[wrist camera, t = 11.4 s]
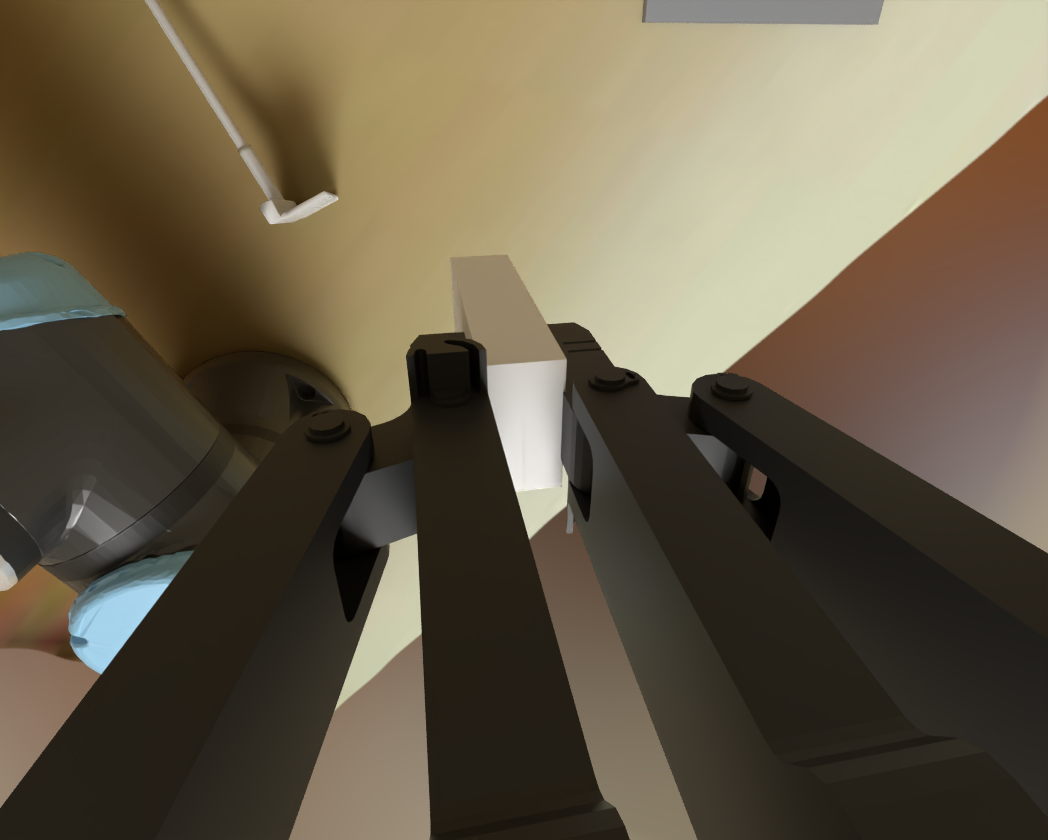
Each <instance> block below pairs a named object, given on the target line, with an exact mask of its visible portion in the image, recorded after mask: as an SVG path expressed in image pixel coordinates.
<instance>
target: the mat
mask: <svg viewBox="0 0 1048 840" xmlns="http://www.w3.org/2000/svg"><path fill="white" fill-rule="evenodd" d="M883 2H884V0H644V8H643V20H642V23H749V24H857V25H874V24H878V22H879V18H880V14H881V10H882V6H883Z"/></svg>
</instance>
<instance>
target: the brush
mask: <svg viewBox="0 0 1048 840" xmlns="http://www.w3.org/2000/svg"><path fill="white" fill-rule="evenodd" d="M145 2H146V4H147V5H148V7H149V8H150V10H151V11H152V13H153V15H154V16H155V18H156V19H157V21H158V23H159V24H160V26H161V27H162V29H163V30H164V32H165V34H166V35H167V37H168V38H169V40H170V42H171V43H172V45H173V46H174V48H175V49H176V51H177V53H178V54H179V56H180V57H181V59H182V61H183V62H184V64H185V65H186V67H187V68H188V70H189V72H190V73H191V75H192V76H193V78H194V80H195V81H196V83H197V84H198V86H199V87H200V89H201V91H202V92H203V94H204V95H205V97H206V99H207V100H208V102H209V103H210V105H211V107H212V108H213V110H214V111H215V113H216V114H217V116H218V118H219V119H220V121H221V122H222V124H223V126H224V127H225V129H226V130H227V132H228V133H229V135H230V137H231V138H232V140H233V141H234V143H235V145H236V146H237V148H238V149H239V150H238V152H239V153H240V155H241V157H242V158H243V160H244V161H245V163H246V164H247V166H248V168H249V169H250V171H251V172H252V174H253V176H254V177H255V179H256V180H257V182H258V183H259V185H260V187H261V188H262V190H263V191H264V193H265V195H266V196H267V198H268V199H269V200H268V201H266V202H264V203H262V204H261V205H260V206H261V207H260V210H261V211H262V213H263V214H264V216H265V217H266V219H267V220H268V222H269V224H277V223H289V222H295V221H297V220H299V219H301V218H305V217H307V216H309V215H311V214H313V213H315V212H316V211H318V210H320V209H322V208H324V207H326V206H327V205H329V204H331V203H333V202H335V201H336V200H338V197H337V195H334V194H332V193H329V192H326V191H323V192H321V193H320V194H318V195H316V196H314V197H312V198H310V199H308V200H307V201H305V202H303V203H301V204H299V205H296V203H295V201H288V200H284V198H283V197H282V195H281V194H280V192H279V190H278V189H277V187H276V186H275V184H274V182H273V181H272V179H271V178H270V176H269V174H268V173H267V171H266V169H265V168H264V166H263V165H262V163H261V161H260V160H259V158H258V157H257V155H256V153H255V152H254V150H253V149H252V147H251V145H247V144H246V142H245V140H244V139H243V137H242V136H241V134H240V132H239V131H238V129H237V128H236V126H235V124H234V123H233V121H232V120H231V118H230V116H229V115H228V113H227V112H226V110H225V108H224V107H223V105H222V104H221V102H220V100H219V99H218V97H217V95H216V94H215V92H214V91H213V89H212V87H211V86H210V84H209V83H208V81H207V79H206V78H205V76H204V75H203V73H202V71H201V70H200V68H199V67H198V65H197V63H196V62H195V60H194V59H193V57H192V55H191V54H190V52H189V51H188V49H187V47H186V46H185V44H184V43H183V41H182V39H181V38H180V36H179V35H178V33H177V31H176V30H175V28H174V27H173V25H172V23H171V22H170V20H169V19H168V17H167V15H166V14H165V12H164V10H163V9H162V7H161V6H160V4H159V2H158V1H157V0H145Z"/></svg>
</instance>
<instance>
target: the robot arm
mask: <svg viewBox="0 0 1048 840" xmlns="http://www.w3.org/2000/svg"><path fill="white" fill-rule="evenodd" d="M450 259H451V274H452V290H453V305H454V321H455V333H442V334H428V335H419V336H418V337H417V338H416V339H415V341H414V342H413V343H412V344H411V345H410V349H409V350H408V352H407V355H406V360H407V369H408V378H409V387H410V396H411V406H410V408H409V409H408V410H407V411H406V412H405V413H403V414H402V415H401V416H399V417H397V418H395V419H393V420H391V421H388V422H385V423H382V424H379V425H375V426H372V427H371V424H370V422H369V420H368V419H367V418H366V416H365V415H362V414H360V413H358V412H356V411H351V410H350V408H349V406H348V404H347V402H346V400H345V399H344V397H343V395H342V394H341V393H340V391H339V390H338V389H337V388H336V386H335V385H334V384H333V383H332V382H331V381H330V380H328V379H327V378H326V377H325V376H324V375H322V374H321V373H320V372H318V371H317V370H315V369H314V368H312V367H310V366H309V365H307V364H305V363H303V362H300V361H298V360H296V359H293V358H290V357H287V356H283V355H279V354H275V353H269V352H258V351H247V352H236V353H231V354H226V355H222V356H219V357H216V358H214V359H211V360H209V361H207V362H205V363H203V364H201V365H200V366H198V367H197V368H195V369H194V370H193V371H191V372H190V373H189V374H188V375H187V376H186V377H185V378H184V379H183V380H182V379H181V378H180V377H179V376H178V375H177V374H176V373H175V372H174V371H173V370H172V368H171V367H170V366H169V365H168V364H167V363H166V362H165V361H164V360H163V359H162V357H161V356H160V355H159V354H158V353H157V352H156V351H155V350H154V349H153V348H152V347H151V345H150V344H149V343H148V342H147V341H146V340H145V339H144V338H143V337H142V336H141V334H140V333H139V332H138V331H137V330H136V329H135V328H134V327H133V326H132V325H131V324H130V322H129V321H128V320H127V319H126V318H125V317H126V316H127V315H126V313H125V312H124V311H123V310H122V309H121V308H119V307H116V306H112V305H111V304H110V303H109V302H108V301H107V300H106V299H105V298H104V297H103V296H102V295H101V294H100V293H99V292H98V291H97V290H96V289H95V288H94V287H93V286H92V285H91V284H90V283H89V282H88V281H87V280H86V279H85V278H84V277H83V276H82V275H81V274H80V273H79V272H78V271H77V270H76V269H75V268H74V267H73V266H72V265H70V264H69V263H68V262H66V261H64V260H62V259H60V258H58V257H56V256H53V255H50V254H45V253H39V252H25V253H17V254H12V255H8V256H4V257H0V591H4V590H8V589H9V588H11V587H12V586H13V585H15V584H16V583H17V582H18V581H19V580H20V579H22V578H23V577H24V576H25V575H26V574H27V573H28V572H29V571H30V570H31V569H32V568H33V567H34V566H35V565H36V564H38V565H40V566H42V567H43V568H44V569H46V570H47V571H48V572H50V573H51V574H53V575H54V576H55V577H57V578H58V579H59V580H61V581H62V582H63V583H65V584H66V585H67V586H69V587H70V588H72V589H73V590H74V591H75V592H77V593H78V594H79V595H78V597H77V598H76V600H75V601H74V602H73V605H72V607H71V609H70V611H69V627H68V629H69V631H70V634H72V635H71V638H70V644H71V646H72V648H73V650H74V652H75V653H76V655H77V656H78V657H79V658H80V659H81V660H82V661H83V662H84V663H85V664H86V665H87V666H88V667H90V668H91V669H93V670H94V671H96V672H98V673H100V674H101V675H100V677H99V678H98V679H97V681H96V682H95V683H94V685H93V686H92V688H91V689H90V690H89V691H88V693H87V694H86V695H85V697H84V698H83V699H82V701H81V702H80V703H79V705H78V706H77V707H76V708H75V710H74V711H73V712H72V714H71V715H70V717H69V718H68V719H67V720H66V722H65V723H64V724H63V726H62V727H61V728H60V730H59V731H58V732H57V734H56V735H55V736H54V738H53V739H52V740H51V742H50V743H49V744H48V746H47V747H46V748H45V750H44V751H43V752H42V754H41V755H40V756H39V758H38V759H37V760H36V762H35V763H34V764H33V766H32V767H31V768H30V770H29V771H28V772H27V773H26V775H25V776H24V778H23V779H22V780H21V781H20V783H19V784H18V785H17V787H16V788H15V789H14V791H13V792H12V793H11V795H10V796H9V797H8V799H7V800H6V801H5V803H4V804H3V805H2V807H1V808H0V840H288V839H289V837H290V834H291V831H292V829H293V825H294V823H295V820H296V817H297V815H298V812H299V809H300V806H301V803H302V800H303V798H304V795H305V792H306V789H307V786H308V783H309V780H310V778H311V775H312V772H313V769H314V766H315V764H316V761H317V758H318V755H319V752H320V749H321V747H322V744H323V741H324V738H325V735H326V732H327V730H328V727H329V724H330V721H331V718H332V716H333V713H334V710H335V707H336V704H337V701H338V699H339V696H340V693H341V690H342V687H343V684H344V682H345V679H346V676H347V673H348V670H349V667H350V665H351V662H352V659H353V656H354V653H355V650H356V648H357V645H358V642H359V639H360V636H361V633H362V631H363V628H364V625H365V622H366V619H367V616H368V614H369V611H370V608H371V605H372V602H373V599H374V597H375V594H376V591H377V588H378V585H379V583H380V580H381V577H382V574H383V571H384V568H385V566H386V563H387V560H388V557H389V547H390V546H389V543H392V542H395V541H397V540H400V539H403V538H406V537H408V536H411V535H414V534H417V539H418V561H419V582H420V603H421V625H422V645H423V667H424V689H425V709H426V710H425V711H426V732H427V753H428V774H429V796H430V820H431V835H430V840H630V839H629V836H628V834H627V831H626V828H625V825H624V823H623V821H622V819H621V817H620V815H619V813H618V811H617V810H616V808H615V807H614V806H613V805H611V804H610V803H608V802H607V801H605V800H604V798H603V796H602V794H601V792H600V790H599V787H598V784H597V781H596V778H595V775H594V771H593V767H592V764H591V760H590V757H589V753H588V750H587V746H586V742H585V739H584V735H583V732H582V728H581V725H580V721H579V717H578V714H577V710H576V707H575V703H574V699H573V696H572V692H571V689H570V685H569V682H568V678H567V675H566V671H565V667H564V664H563V660H562V657H561V653H560V650H559V646H558V642H557V639H556V635H555V631H554V628H553V624H552V621H551V617H550V614H549V610H548V606H547V603H546V599H545V596H544V592H543V589H542V585H541V581H540V578H539V575H538V571H537V567H536V564H535V560H534V556H533V553H532V550H531V546H530V543H529V538H528V535H527V531H526V528H525V524H524V520H523V517H522V513H521V510H520V506H519V503H518V499H517V495H516V492H517V491H526V490H535V489H544V488H553V487H562V467H563V465H564V468H565V470H566V472H567V475H568V499H567V521H566V529H567V533H572V532H573V523H574V522H575V521H576V523H577V526H578V529H579V531H580V534H581V536H582V539H583V542H584V544H585V547H586V550H587V552H588V555H589V557H590V560H591V563H592V565H593V568H594V571H595V573H596V576H597V578H598V581H599V583H600V586H601V589H602V591H603V594H604V597H605V599H606V602H607V604H608V607H609V610H610V612H611V615H612V617H613V620H614V623H615V625H616V628H617V631H618V633H619V636H620V638H621V641H622V643H623V646H624V649H625V651H626V654H627V657H628V659H629V661H630V664H631V667H632V669H633V672H634V675H635V677H636V680H637V683H638V685H639V688H640V690H641V693H642V695H643V698H644V701H645V703H646V706H647V709H648V711H649V714H650V717H651V719H652V721H653V724H654V727H655V730H656V732H657V735H658V737H659V740H660V743H661V745H662V748H663V750H664V753H665V756H666V758H667V761H668V763H669V766H670V769H671V771H672V774H673V776H674V779H675V782H676V784H677V787H678V790H679V792H680V795H681V797H682V800H683V803H684V805H685V808H686V810H687V813H688V815H689V818H690V821H691V824H692V826H693V829H694V831H695V834H696V837H697V839H698V840H1048V553H1046V552H1045V551H1043V550H1041V549H1040V548H1038V547H1036V546H1035V545H1033V544H1031V543H1029V542H1027V541H1026V540H1024V539H1023V538H1021V537H1019V536H1018V535H1016V534H1014V533H1012V532H1011V531H1009V530H1007V529H1006V528H1004V527H1002V526H1001V525H999V524H997V523H995V522H994V521H992V520H991V519H988V518H987V517H985V516H984V515H982V514H980V513H979V512H977V511H975V510H974V509H972V508H970V507H969V506H967V505H965V504H963V503H962V502H960V501H958V500H957V499H955V498H953V497H952V496H950V495H948V494H946V493H945V492H943V491H941V490H940V489H938V488H936V487H935V486H933V485H931V484H930V483H928V482H926V481H925V480H923V479H921V478H919V477H918V476H916V475H914V474H912V473H911V472H909V471H907V470H906V469H904V468H903V467H901V466H899V465H897V464H896V463H894V462H892V461H890V460H889V459H887V458H886V457H884V456H882V455H880V454H879V453H877V452H875V451H874V450H872V449H870V448H869V447H867V446H865V445H864V444H862V443H860V442H859V441H857V440H855V439H853V438H852V437H850V436H848V435H847V434H845V433H843V432H842V431H840V430H838V429H837V428H835V427H833V426H831V425H830V424H828V423H826V422H825V421H823V420H821V419H820V418H818V417H816V416H815V415H813V414H811V413H809V412H808V411H806V410H804V409H803V408H801V407H799V406H798V405H795V404H794V403H793V402H791V401H789V400H787V399H786V398H784V397H782V396H781V395H779V394H777V393H776V392H774V391H772V390H770V389H769V388H767V387H765V386H764V385H762V384H760V383H758V382H756V381H754V380H751V379H749V378H746V377H741V376H738V375H737V374H733V373H728V374H726V373H717V374H711V375H705V376H703V377H700V378H697V379H696V380H695V382H694V383H693V384H692V388H691V395H690V398H689V397H676V396H665V395H657V394H656V393H655V392H654V391H653V389H652V388H651V387H650V385H649V384H648V383H647V382H646V380H645V379H644V378H643V377H641V376H640V375H639V374H638V373H635V372H633V371H630V370H628V369H624V368H619V367H614V365H613V364H612V362H611V361H610V360H609V358H608V357H607V355H606V354H605V353H604V351H603V350H601V347H600V346H599V344H598V343H597V342H596V340H595V338H594V337H593V336H592V334H591V333H590V331H589V330H587V329H585V328H583V327H581V326H580V325H578V324H576V323H559V324H546V322H545V320H544V318H543V317H542V315H541V313H540V311H539V310H538V308H537V306H536V304H535V303H534V301H533V299H532V297H531V296H530V294H529V292H528V290H527V289H526V287H525V285H524V283H523V282H522V280H521V278H520V276H519V274H518V273H517V271H516V269H515V267H514V266H513V264H512V262H511V260H510V259H509V257H508V255H492V256H472V257H453V258H450ZM754 467H755V468H756V469H758V470H759V471H760V472H762V473H763V474H764V475H766V476H767V481H766V485H765V489H764V493H763V495H762V497H759V496H757V495H756V494H754V493H753V492H752V491H751V490H749V485H750V481H751V477H752V473H753V468H754Z"/></svg>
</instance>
